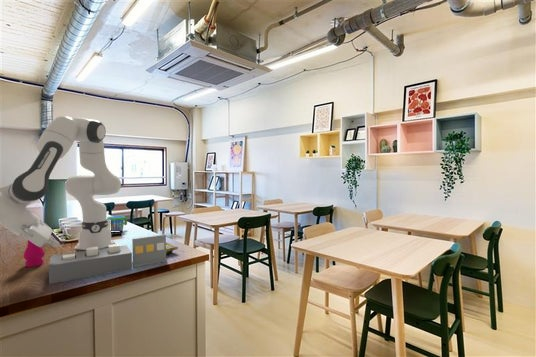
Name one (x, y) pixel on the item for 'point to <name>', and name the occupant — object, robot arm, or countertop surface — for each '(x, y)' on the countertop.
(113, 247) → the key right
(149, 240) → the card
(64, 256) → the key left
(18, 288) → the countertop surface
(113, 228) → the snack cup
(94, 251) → the key middle
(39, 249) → the pepper mill
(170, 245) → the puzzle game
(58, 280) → the console
